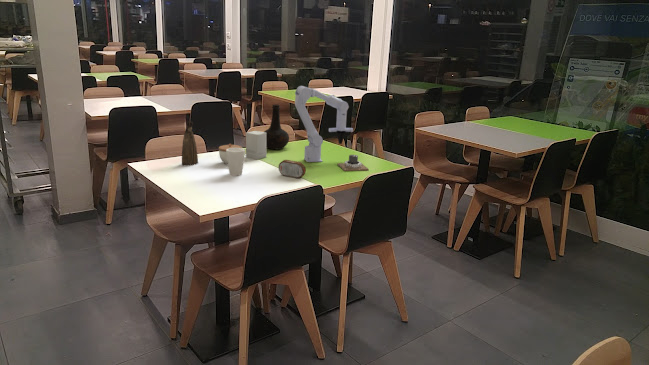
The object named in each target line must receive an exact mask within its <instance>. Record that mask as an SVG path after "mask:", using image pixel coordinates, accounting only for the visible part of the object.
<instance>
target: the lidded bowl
mask: <svg viewBox="0 0 649 365" xmlns="http://www.w3.org/2000/svg"><path fill="white" fill-rule="evenodd" d="M228 148H243V147H242V146H241V145H237V144H232V143H229V144H223V145H220V146H219V147H218V153H219V158H220V160H221V161H222V162H223V164H224V165H228V160H227V155H226V149H228Z"/></svg>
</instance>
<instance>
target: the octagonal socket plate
mask: <svg viewBox="0 0 649 365" xmlns="http://www.w3.org/2000/svg"><path fill="white" fill-rule="evenodd" d="M337 166H338V167H339V168H341V170H343V171H344V172H358V171H359V172H361V171H369V170H370V169H369V168H368V167H367V166H366V165H365V164H364V163H362V162H361V161H359V160H358V163H357V164H350V163H349V159H348V160H345V161H344V162H340V163H339V162H338V163H337Z"/></svg>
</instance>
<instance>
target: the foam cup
mask: <svg viewBox="0 0 649 365" xmlns="http://www.w3.org/2000/svg"><path fill="white" fill-rule="evenodd" d="M226 155H227V160H228V164H227V165H228V172H229V175H230V176H233V177H238V176H242V175H243V169H244V160H245V156H246V148H243V147H242V148H228V149H226Z"/></svg>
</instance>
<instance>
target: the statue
mask: <svg viewBox="0 0 649 365" xmlns="http://www.w3.org/2000/svg"><path fill="white" fill-rule="evenodd" d="M185 125H186V128H185V131H184V134H183V138H182V139H183V140H182V147H181V149H182V150H181V165H182V166H184V165H189V166H195V165H197V164H199V156H198V149H197V143H196V142H197V141H196V137H195V135H194V131H193V125H194V122H193V121H191V119H189V120H188V121H186V122H185ZM194 164H195V165H194Z"/></svg>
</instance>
